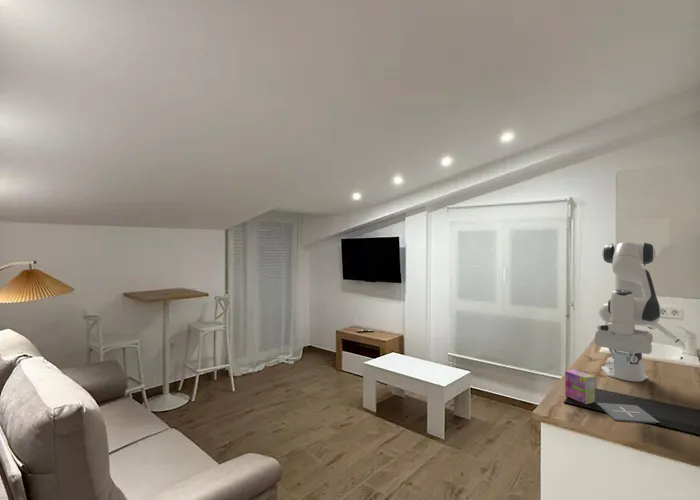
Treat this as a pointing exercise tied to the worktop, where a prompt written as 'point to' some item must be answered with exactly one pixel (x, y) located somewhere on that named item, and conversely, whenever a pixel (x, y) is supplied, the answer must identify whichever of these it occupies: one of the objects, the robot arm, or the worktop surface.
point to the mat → (627, 413)
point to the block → (621, 359)
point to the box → (580, 386)
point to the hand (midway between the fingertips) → (621, 360)
